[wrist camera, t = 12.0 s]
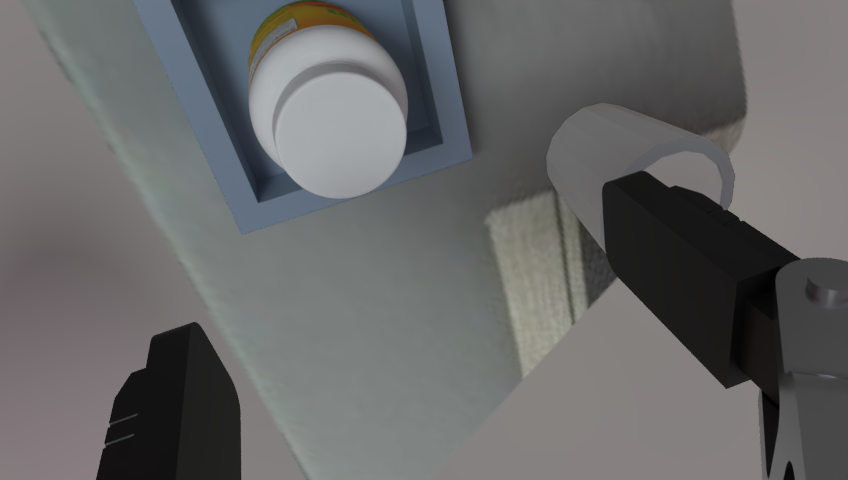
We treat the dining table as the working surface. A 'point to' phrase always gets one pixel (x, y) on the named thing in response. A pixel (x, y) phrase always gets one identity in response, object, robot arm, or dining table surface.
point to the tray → (229, 94)
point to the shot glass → (630, 159)
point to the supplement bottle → (326, 99)
